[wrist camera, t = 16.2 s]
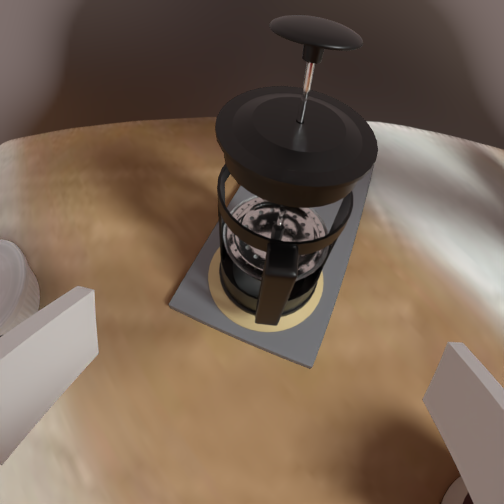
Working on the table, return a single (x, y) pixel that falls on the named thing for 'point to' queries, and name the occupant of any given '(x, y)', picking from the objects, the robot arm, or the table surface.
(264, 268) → the french press
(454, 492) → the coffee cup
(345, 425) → the table surface
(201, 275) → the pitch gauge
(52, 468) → the table surface
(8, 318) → the ramekin
